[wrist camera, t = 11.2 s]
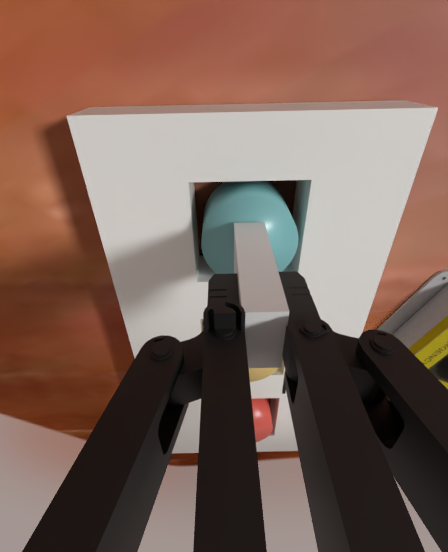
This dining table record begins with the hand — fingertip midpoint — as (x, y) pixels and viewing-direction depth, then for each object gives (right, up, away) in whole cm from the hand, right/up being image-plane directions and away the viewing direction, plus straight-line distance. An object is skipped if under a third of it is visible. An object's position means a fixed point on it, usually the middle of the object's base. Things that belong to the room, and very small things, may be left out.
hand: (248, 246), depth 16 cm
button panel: (0, -5, +9) cm, 10 cm away
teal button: (0, +2, +3) cm, 4 cm away
